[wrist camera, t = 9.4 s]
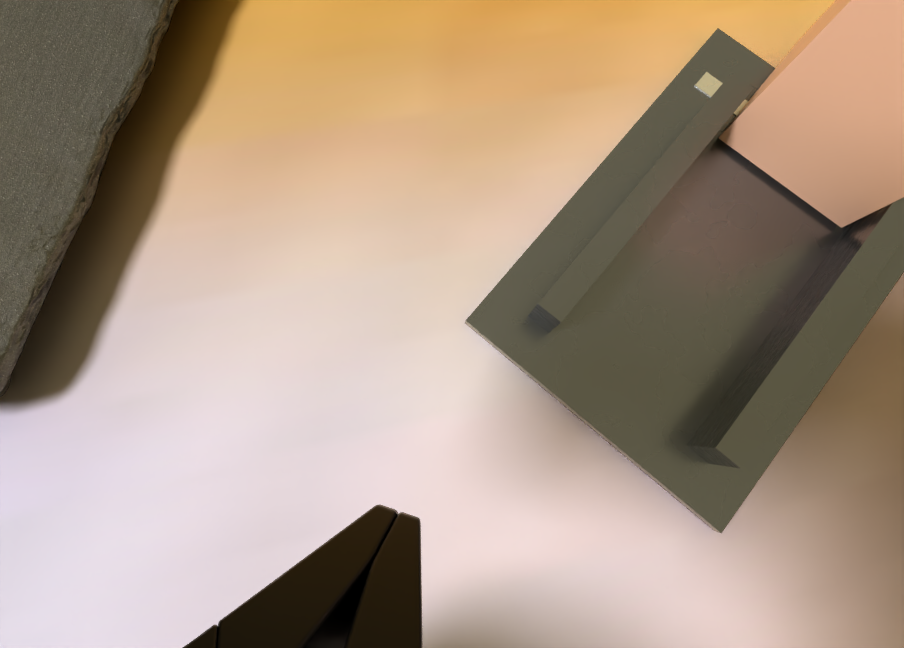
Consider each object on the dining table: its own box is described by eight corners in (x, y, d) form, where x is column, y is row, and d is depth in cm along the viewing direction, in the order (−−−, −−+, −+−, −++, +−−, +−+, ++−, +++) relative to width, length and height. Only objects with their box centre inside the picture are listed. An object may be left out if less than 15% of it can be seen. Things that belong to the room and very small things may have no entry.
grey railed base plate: (713, 530, 22) (755, 546, 19) (465, 323, 24) (468, 309, 21) (944, 201, 25) (1010, 171, 22) (711, 36, 27) (744, -11, 24)
